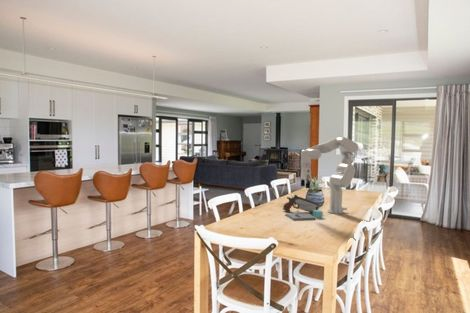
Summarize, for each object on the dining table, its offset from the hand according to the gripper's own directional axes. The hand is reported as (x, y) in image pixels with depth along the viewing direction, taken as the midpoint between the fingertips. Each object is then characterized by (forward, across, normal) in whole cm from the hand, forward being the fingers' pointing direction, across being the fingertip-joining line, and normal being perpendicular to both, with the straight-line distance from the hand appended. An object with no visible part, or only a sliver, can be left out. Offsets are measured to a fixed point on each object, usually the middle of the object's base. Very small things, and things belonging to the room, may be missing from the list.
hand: (305, 187), depth 259 cm
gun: (+23, +13, -2) cm, 27 cm away
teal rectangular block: (+23, -5, -9) cm, 25 cm away
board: (+23, -4, +5) cm, 24 cm away
